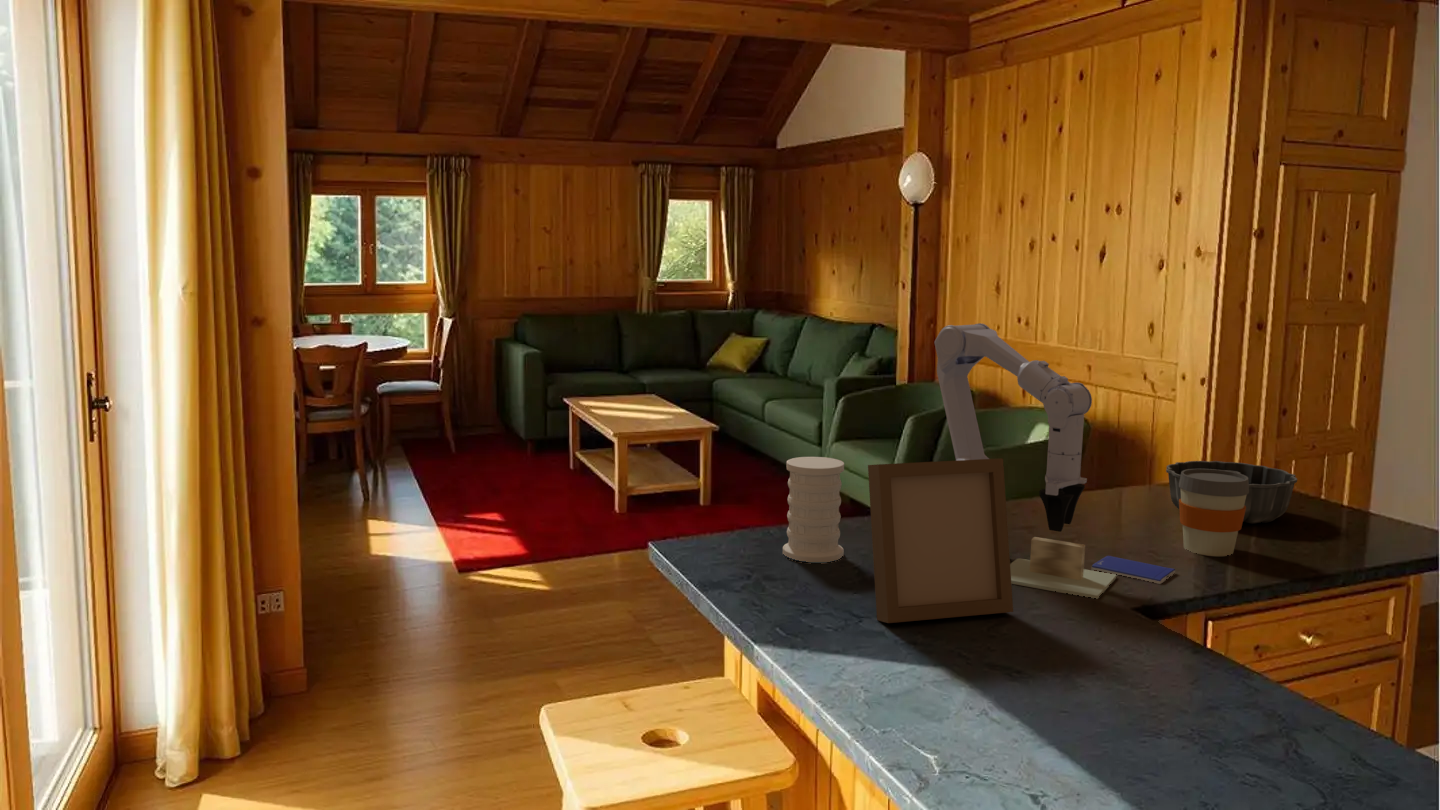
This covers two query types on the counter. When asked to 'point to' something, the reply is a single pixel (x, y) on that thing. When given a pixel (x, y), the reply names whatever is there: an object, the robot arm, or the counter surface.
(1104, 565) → the hard drive
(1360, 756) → the counter surface
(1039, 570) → the oak tile
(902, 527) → the photo frame
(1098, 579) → the mat
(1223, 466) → the bundt pan
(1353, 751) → the counter surface
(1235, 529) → the reusable coffee cup
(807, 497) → the decorative container
